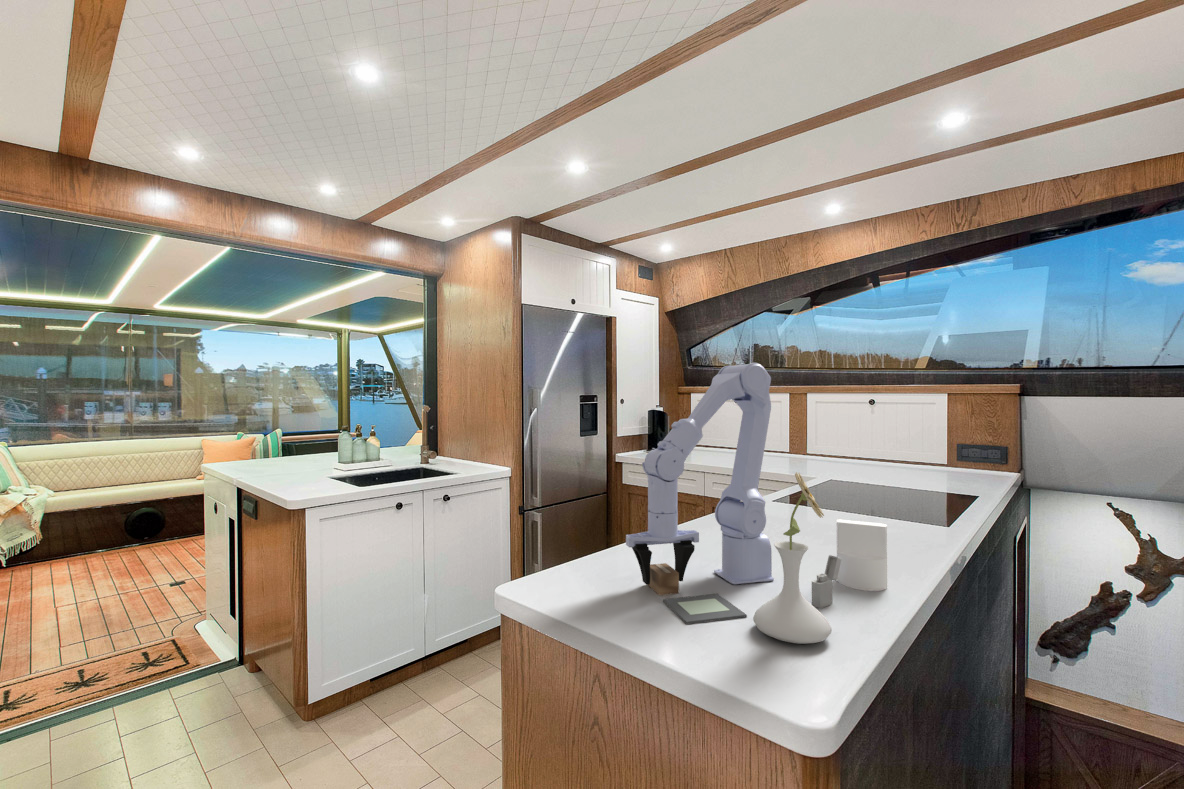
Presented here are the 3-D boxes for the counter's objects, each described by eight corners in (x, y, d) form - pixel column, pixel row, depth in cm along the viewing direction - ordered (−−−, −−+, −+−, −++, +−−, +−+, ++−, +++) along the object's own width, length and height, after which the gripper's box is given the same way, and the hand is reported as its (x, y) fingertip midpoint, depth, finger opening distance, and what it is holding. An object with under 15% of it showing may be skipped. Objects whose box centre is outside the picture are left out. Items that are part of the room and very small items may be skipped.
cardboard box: (666, 583, 104) (666, 562, 104) (678, 593, 98) (678, 572, 98) (647, 585, 102) (647, 564, 102) (659, 596, 97) (659, 574, 97)
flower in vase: (818, 660, 72) (817, 481, 73) (741, 636, 80) (740, 474, 80) (843, 629, 82) (843, 472, 83) (773, 610, 90) (772, 466, 90)
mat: (717, 595, 96) (717, 593, 96) (746, 617, 87) (746, 614, 87) (662, 601, 94) (662, 598, 94) (686, 624, 84) (686, 621, 84)
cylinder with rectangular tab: (835, 586, 102) (835, 525, 102) (837, 572, 110) (837, 516, 110) (888, 594, 97) (887, 530, 98) (886, 579, 105) (886, 520, 106)
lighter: (820, 608, 90) (820, 563, 91) (811, 605, 92) (810, 560, 92) (841, 599, 95) (841, 556, 95) (832, 596, 96) (832, 553, 96)
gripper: (688, 505, 106) (688, 571, 106) (620, 508, 102) (620, 577, 102) (704, 512, 99) (704, 583, 99) (632, 516, 96) (632, 590, 95)
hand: (662, 581), depth 100 cm, fingers open, 6 cm apart
